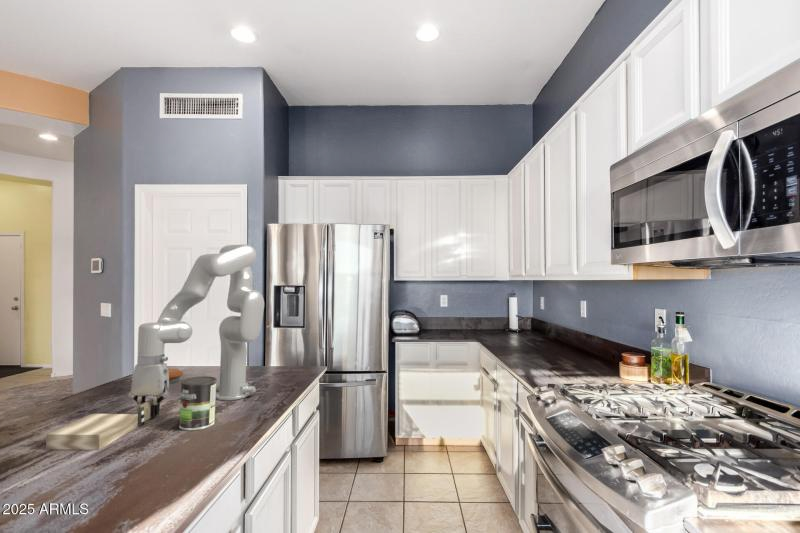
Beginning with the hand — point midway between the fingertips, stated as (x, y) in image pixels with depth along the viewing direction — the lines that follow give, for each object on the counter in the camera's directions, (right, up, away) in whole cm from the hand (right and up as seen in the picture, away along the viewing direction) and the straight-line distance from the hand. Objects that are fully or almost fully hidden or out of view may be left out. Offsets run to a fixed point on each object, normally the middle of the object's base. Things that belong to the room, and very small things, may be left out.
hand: (148, 415), depth 129 cm
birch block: (-5, 0, -16) cm, 17 cm away
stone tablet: (+1, -1, -2) cm, 2 cm away
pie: (-22, -2, +43) cm, 49 cm away
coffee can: (+18, -1, -5) cm, 19 cm away
